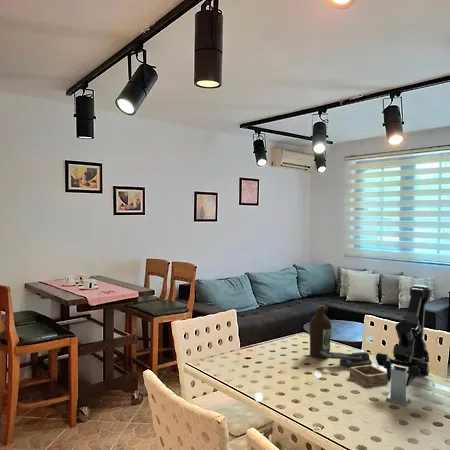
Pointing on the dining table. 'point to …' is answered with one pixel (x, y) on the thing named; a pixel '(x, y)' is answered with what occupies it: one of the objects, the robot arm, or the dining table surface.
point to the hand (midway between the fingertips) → (397, 383)
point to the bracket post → (398, 386)
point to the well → (368, 375)
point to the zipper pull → (349, 358)
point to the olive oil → (320, 334)
